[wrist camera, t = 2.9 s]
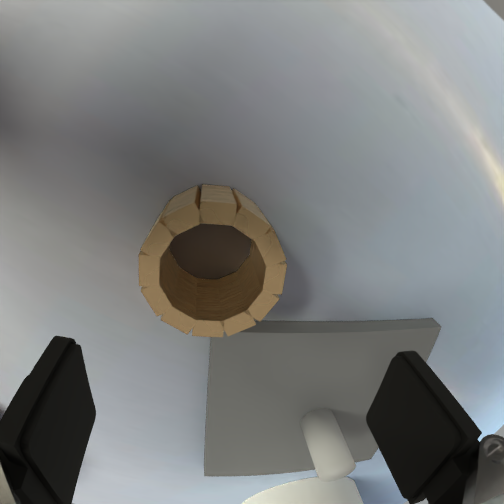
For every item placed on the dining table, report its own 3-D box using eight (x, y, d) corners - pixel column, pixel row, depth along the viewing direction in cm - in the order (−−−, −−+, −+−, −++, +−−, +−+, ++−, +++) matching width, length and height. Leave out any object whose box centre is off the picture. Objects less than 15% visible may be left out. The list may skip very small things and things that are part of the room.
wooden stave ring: (156, 181, 18) (139, 197, 13) (274, 190, 19) (296, 209, 15) (153, 288, 20) (141, 332, 16) (259, 295, 22) (273, 338, 17)
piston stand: (212, 318, 22) (217, 397, 15) (432, 318, 25) (482, 366, 18) (203, 465, 28) (208, 524, 21) (366, 450, 31) (388, 497, 24)
